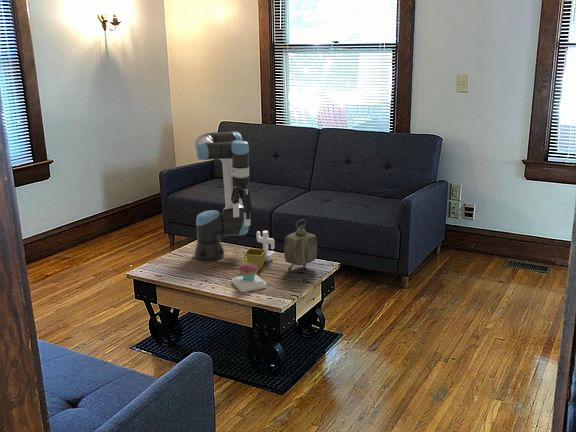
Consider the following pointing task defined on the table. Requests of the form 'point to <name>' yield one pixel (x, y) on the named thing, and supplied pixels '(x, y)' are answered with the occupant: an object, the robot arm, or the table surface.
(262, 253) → the flower pot
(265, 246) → the figurine
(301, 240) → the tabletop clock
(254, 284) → the pedestal
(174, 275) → the table surface
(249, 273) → the cupcake
